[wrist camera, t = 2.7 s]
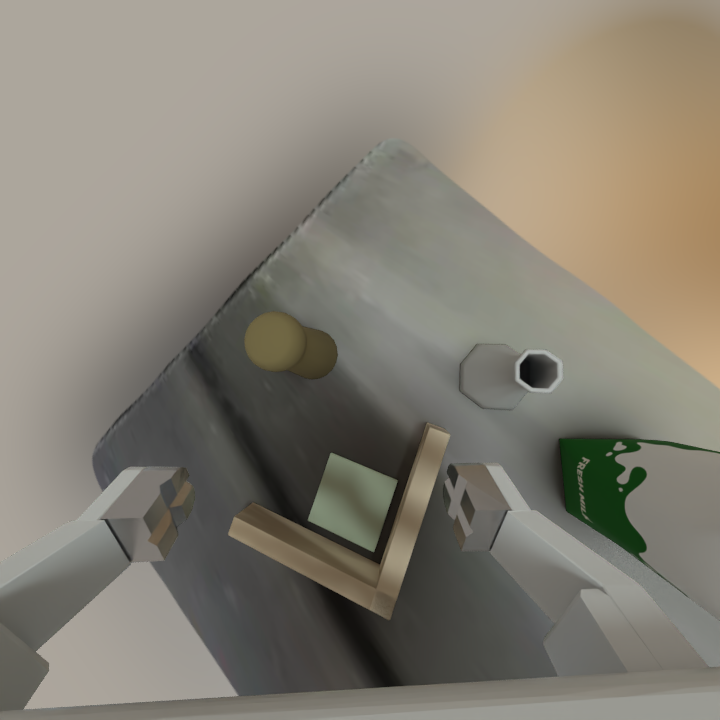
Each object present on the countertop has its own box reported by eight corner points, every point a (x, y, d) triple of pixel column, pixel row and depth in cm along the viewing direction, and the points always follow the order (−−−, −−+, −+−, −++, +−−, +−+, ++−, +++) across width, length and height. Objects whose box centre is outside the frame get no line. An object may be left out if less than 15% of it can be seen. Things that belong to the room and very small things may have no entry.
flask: (540, 356, 28) (613, 339, 18) (516, 421, 27) (577, 441, 18) (471, 333, 29) (503, 306, 19) (448, 395, 29) (469, 399, 19)
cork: (280, 359, 33) (218, 346, 22) (309, 320, 33) (261, 287, 22) (317, 389, 32) (270, 391, 21) (347, 349, 31) (316, 329, 21)
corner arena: (391, 591, 28) (389, 620, 24) (247, 518, 31) (227, 534, 28) (445, 428, 29) (450, 434, 25) (297, 375, 32) (284, 373, 29)
